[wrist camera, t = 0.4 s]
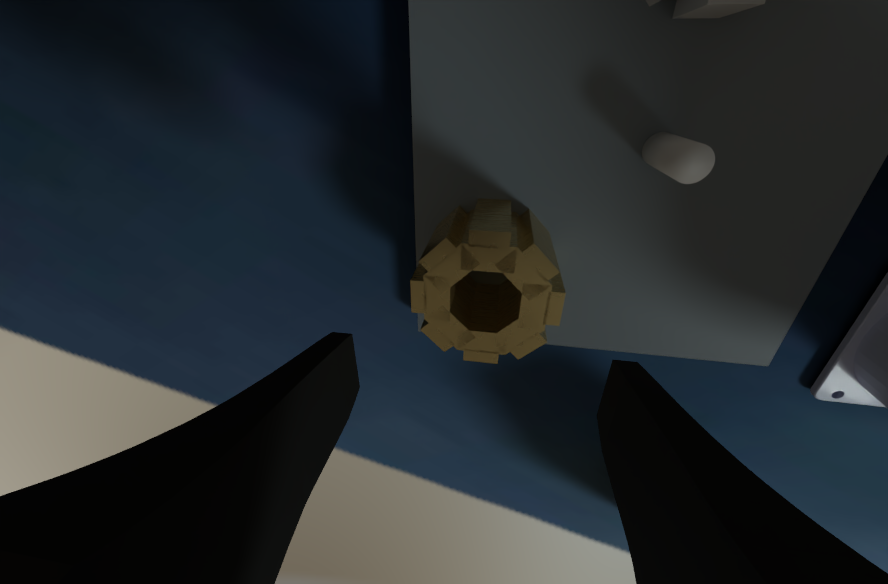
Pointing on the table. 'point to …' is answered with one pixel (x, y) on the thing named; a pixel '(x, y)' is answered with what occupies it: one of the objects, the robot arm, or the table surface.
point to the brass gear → (487, 305)
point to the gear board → (657, 153)
